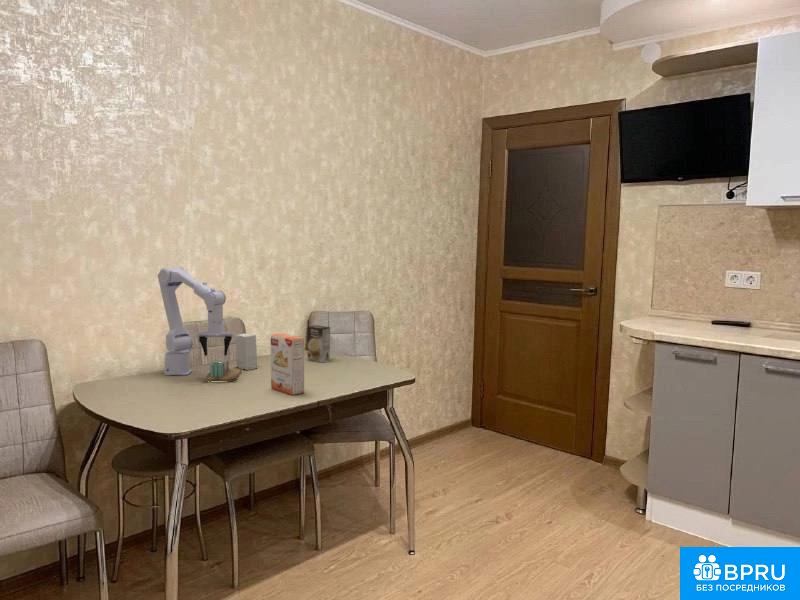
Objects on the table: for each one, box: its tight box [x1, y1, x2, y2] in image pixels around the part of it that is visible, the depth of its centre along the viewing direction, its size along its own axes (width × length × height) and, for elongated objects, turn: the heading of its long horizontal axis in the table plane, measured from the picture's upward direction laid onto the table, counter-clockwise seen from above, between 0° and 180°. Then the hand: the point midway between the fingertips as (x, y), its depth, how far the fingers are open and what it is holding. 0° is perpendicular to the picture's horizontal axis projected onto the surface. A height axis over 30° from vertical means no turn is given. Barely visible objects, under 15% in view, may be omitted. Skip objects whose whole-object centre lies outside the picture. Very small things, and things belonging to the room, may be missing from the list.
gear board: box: [203, 368, 243, 383], centre depth 255 cm, size 12×18×4 cm, turn 7°
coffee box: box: [306, 324, 331, 364], centre depth 291 cm, size 9×6×16 cm
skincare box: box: [235, 333, 258, 371], centre depth 273 cm, size 8×6×15 cm
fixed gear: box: [212, 358, 230, 372], centre depth 260 cm, size 6×6×5 cm
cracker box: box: [270, 333, 305, 396], centre depth 234 cm, size 14×6×21 cm, turn 45°
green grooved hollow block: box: [209, 361, 224, 377], centre depth 251 cm, size 4×6×5 cm
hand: (215, 355), depth 250 cm, fingers open, 7 cm apart
